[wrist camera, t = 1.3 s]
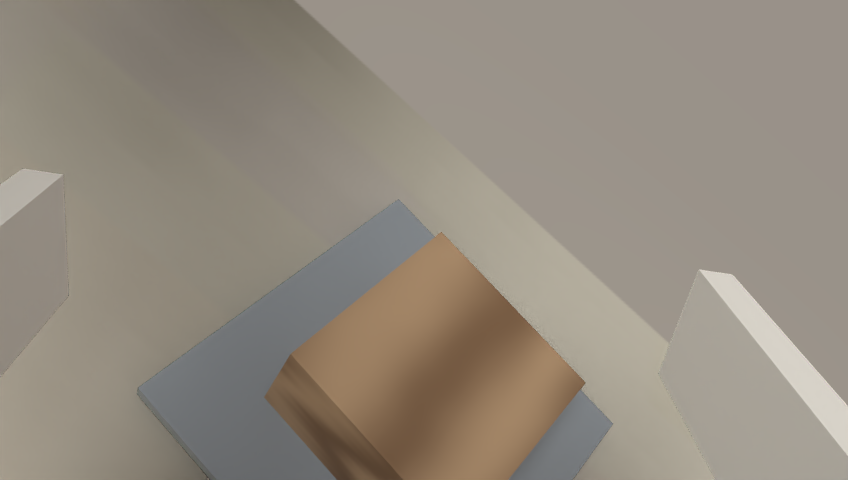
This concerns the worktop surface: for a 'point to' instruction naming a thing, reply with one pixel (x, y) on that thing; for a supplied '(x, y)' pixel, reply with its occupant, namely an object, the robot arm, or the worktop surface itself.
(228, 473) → the base board
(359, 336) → the walnut plinth
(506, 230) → the worktop surface
